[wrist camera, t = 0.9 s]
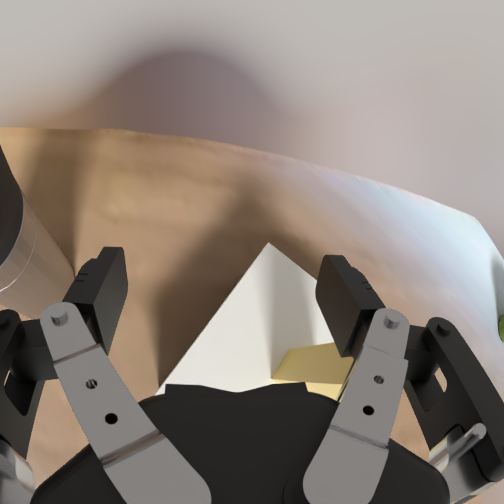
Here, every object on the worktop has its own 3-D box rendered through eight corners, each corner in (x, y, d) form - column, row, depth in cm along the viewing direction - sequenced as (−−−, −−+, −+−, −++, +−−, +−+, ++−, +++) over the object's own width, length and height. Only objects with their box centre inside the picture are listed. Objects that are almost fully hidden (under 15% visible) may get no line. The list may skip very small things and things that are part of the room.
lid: (152, 397, 24) (150, 428, 12) (265, 245, 32) (327, 180, 21) (310, 485, 24) (390, 528, 13) (387, 343, 33) (475, 325, 22)
